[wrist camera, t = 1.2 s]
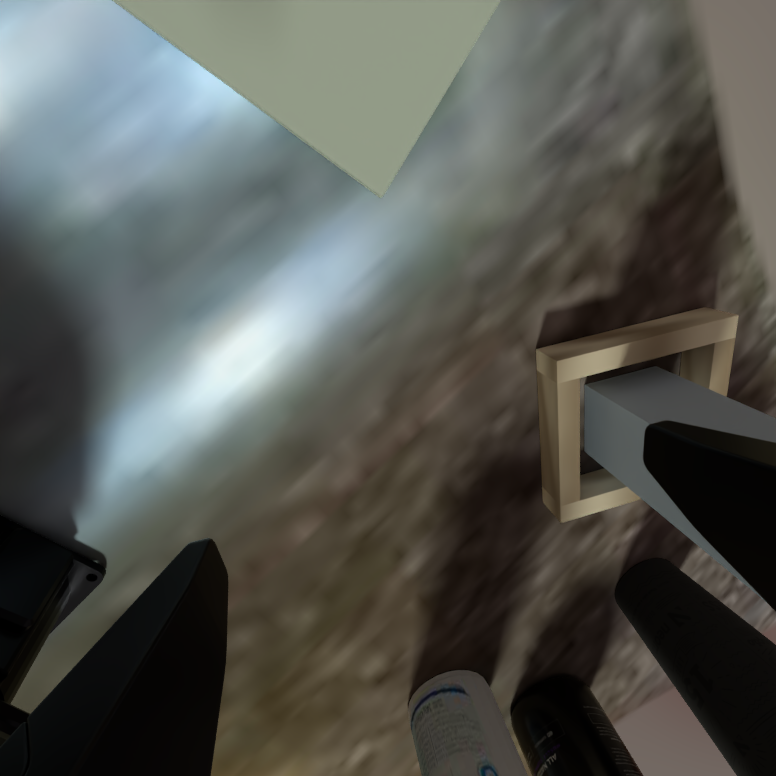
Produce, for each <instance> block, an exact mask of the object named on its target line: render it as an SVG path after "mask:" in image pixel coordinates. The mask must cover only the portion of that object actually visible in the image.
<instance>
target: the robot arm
mask: <svg viewBox="0 0 776 776" xmlns="http://www.w3.org/2000/svg"><path fill="white" fill-rule="evenodd" d="M643 462H644V465H645V467H646V469H647V470H648V471H649V473H650V474H651V475H652V476H653V478H654V479H655V480H656V481H657V483H658V484H659V485H660V486H661V487H662V489H663V490H664V491H665V492H666V494H667V495H668V496H669V497H670V499H671V500H672V501H673V502H674V504H675V505H676V506H677V507H678V509H679V510H680V511H681V512H682V513H683V515H684V516H685V517H686V518H687V520H688V521H689V522H690V523H691V524H692V525H693V527H694V528H695V529H696V530H697V531H698V532H699V533H700V534H701V535H702V536H703V537H704V538H705V539H706V540H707V541H708V542H709V544H710V545H711V546H712V547H713V548H714V549H715V550H716V551H717V552H718V553H719V554H720V555H721V556H722V557H723V558H724V559H725V560H726V561H727V562H728V563H729V564H730V565H731V566H732V567H733V568H734V569H735V570H736V571H737V572H738V573H739V574H740V575H741V576H742V577H743V578H744V579H745V580H746V581H747V582H748V584H749V585H750V586H751V587H752V588H753V589H754V590H755V591H756V592H757V593H758V594H759V595H760V596H761V597H762V598H763V599H764V600H765V601H766V602H767V603H768V604H769V605H770V606H771V607H772V608H773V609H774V610H775V611H776V443H775V442H771V441H766V440H761V439H756V438H752V437H747V436H742V435H737V434H732V433H728V432H723V431H718V430H713V429H708V428H704V427H699V426H694V425H689V424H684V423H680V422H675V421H670V420H664V421H660V422H656V423H652V424H649V425H648V426H647V427H646V429H645V434H644V447H643ZM91 574H95V575H96V576H94V575H91ZM105 574H106V570H105V568H104V567H103V566H101V565H100V564H98V563H96V562H94V561H92V560H90V559H88V558H86V557H84V556H82V555H80V554H78V553H76V552H74V551H72V550H70V549H68V548H65V547H63V546H61V545H59V544H57V543H55V542H53V541H51V540H49V539H47V538H45V537H43V536H41V535H39V534H37V533H35V532H33V531H31V530H29V529H27V528H25V527H23V526H21V525H19V524H17V523H15V522H13V521H11V520H9V519H7V518H5V517H3V516H1V515H0V776H211V769H212V761H213V754H214V747H215V740H216V732H217V725H218V718H219V711H220V703H221V696H222V689H223V682H224V674H225V665H226V651H227V615H228V574H227V570H226V567H225V565H224V562H223V560H222V558H221V555H220V553H219V551H218V548H217V546H216V544H215V542H214V541H213V540H212V539H210V538H206V539H202V540H198V541H195V542H191V543H189V544H188V545H187V546H186V547H185V548H184V549H183V550H182V551H181V552H180V553H179V554H178V555H177V556H176V557H175V558H174V560H173V561H172V562H171V563H170V564H169V565H168V566H167V567H166V568H165V569H164V570H163V571H162V572H161V574H160V575H159V576H158V577H157V578H156V579H155V580H154V581H153V582H152V583H151V584H150V585H149V587H148V588H147V589H146V590H145V591H144V592H143V593H142V594H141V595H140V596H139V597H138V598H137V600H136V601H135V602H134V603H133V604H132V605H131V606H130V607H129V608H128V609H127V610H126V611H125V613H124V614H123V615H122V616H121V617H120V618H119V619H118V620H117V621H116V622H115V623H114V624H113V626H112V627H111V628H110V629H109V630H108V631H107V632H106V633H105V634H104V635H103V636H102V637H101V638H100V640H99V641H98V642H97V643H96V644H95V645H94V646H93V647H92V648H91V649H90V650H89V651H88V653H87V654H86V655H85V656H84V657H83V658H82V659H81V660H80V661H79V662H78V663H77V664H76V666H75V667H74V668H73V669H72V670H71V671H70V672H69V673H68V674H67V675H66V676H65V677H64V678H63V680H62V681H61V682H60V683H59V684H58V685H57V686H56V687H55V688H54V689H53V690H52V691H51V693H50V694H49V695H48V696H47V697H46V698H45V699H44V700H43V701H42V702H41V703H40V704H39V705H38V707H37V708H36V709H35V710H34V711H33V712H32V713H31V714H29V713H27V712H25V711H23V710H21V709H19V708H17V707H15V706H13V705H11V702H12V700H13V698H14V697H15V695H16V693H17V691H18V689H19V688H20V686H21V684H22V682H23V680H24V679H25V677H26V675H27V673H28V671H29V670H30V668H31V666H32V664H33V662H34V661H35V659H36V657H37V655H38V654H39V652H40V650H41V648H42V646H43V645H44V643H45V641H46V639H47V637H48V636H49V634H50V633H51V632H52V631H53V630H54V629H55V628H56V627H57V626H58V625H59V624H60V623H61V622H62V621H63V620H64V619H65V618H66V617H67V616H68V615H69V614H70V613H71V612H72V611H73V610H74V609H75V608H76V607H77V606H78V605H79V604H80V603H81V602H82V601H83V600H84V599H85V598H86V597H87V596H88V595H89V594H90V593H91V592H92V591H93V590H94V589H95V588H96V587H97V586H98V585H99V584H100V583H101V582H102V580H103V578H104V576H105Z"/></svg>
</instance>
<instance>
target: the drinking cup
mask: <svg viewBox="0 0 776 776" xmlns="http://www.w3.org/2000/svg"><path fill="white" fill-rule="evenodd" d="M615 599H616V602H617V604H618V605H619V607H620V608H621V610H622V611H623V613H624V614H625V616H626V617H627V618H628V620H629V621H630V623H631V624H632V626H633V627H634V628H635V630H636V631H637V633H638V634H639V636H640V637H641V638H642V640H643V641H644V643H645V644H646V646H647V647H648V649H649V650H650V651H651V653H652V654H653V656H654V657H655V659H656V660H657V661H658V663H659V664H660V666H661V667H662V669H663V670H664V672H665V673H666V674H667V676H668V677H669V679H670V680H671V682H672V683H673V684H674V686H675V687H676V689H677V690H678V692H679V693H680V694H681V696H682V697H683V699H684V700H685V702H686V703H687V705H688V706H689V707H690V709H691V710H692V712H693V713H694V715H695V716H696V717H697V719H698V720H699V722H700V723H701V725H702V726H703V727H704V729H705V730H706V732H707V733H708V735H709V736H710V737H711V739H712V740H713V742H714V743H715V745H716V746H717V748H718V749H719V750H720V752H721V753H722V755H723V756H724V758H725V759H726V761H727V762H728V763H729V765H730V766H731V768H732V769H733V771H734V772H735V773H736V775H737V776H776V645H775V644H774V643H773V642H771V641H770V640H769V639H768V638H766V637H765V636H764V635H762V634H761V633H760V632H759V631H757V630H756V629H755V628H754V627H752V626H751V625H750V624H748V623H747V622H746V621H745V620H743V619H742V618H741V617H740V616H738V615H737V614H736V613H734V612H733V611H732V610H731V609H729V608H728V607H727V606H725V605H724V604H723V603H722V602H720V601H719V600H718V599H717V598H715V597H714V596H713V595H711V594H710V593H709V592H708V591H706V590H705V589H704V588H703V587H701V586H700V585H699V584H697V583H696V582H695V581H694V580H692V579H691V578H690V577H688V576H687V575H686V574H685V573H683V572H682V571H681V570H680V569H678V568H677V567H676V566H674V565H673V564H672V563H671V562H669V561H667V560H664V559H650V560H646V561H644V562H641V563H639V564H638V565H636V566H634V567H633V568H632V569H630V570H629V571H628V572H627V573H626V574H625V575H624V576H623V577H622V579H621V580H620V582H619V583H618V585H617V588H616V592H615Z"/></svg>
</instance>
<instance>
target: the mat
mask: <svg viewBox="0 0 776 776" xmlns="http://www.w3.org/2000/svg"><path fill="white" fill-rule="evenodd" d="M112 1H114V2H115V3H116V4H118V5H119V6H121V7H122V8H123V9H125V10H126V11H127V12H129V13H130V14H131V15H133V16H134V17H135V18H137V19H138V20H139V21H141V22H142V23H144V24H145V25H146V26H148V27H149V28H150V29H152V30H153V31H154V32H156V33H157V34H158V35H160V36H161V37H163V38H164V39H165V40H167V41H168V42H169V43H171V44H172V45H173V46H175V47H176V48H177V49H179V50H180V51H182V52H183V53H184V54H186V55H187V56H188V57H190V58H191V59H192V60H194V61H195V62H196V63H198V64H199V65H200V66H202V67H203V68H205V69H206V70H207V71H209V72H210V73H211V74H213V75H214V76H215V77H217V78H218V79H219V80H221V81H222V82H224V83H225V84H226V85H228V86H229V87H230V88H232V89H233V90H234V91H236V92H237V93H238V94H240V95H241V96H243V97H244V98H245V99H247V100H248V101H249V102H251V103H252V104H253V105H255V106H256V107H257V108H259V109H260V110H261V111H263V112H264V113H266V114H267V115H268V116H270V117H271V118H272V119H274V120H275V121H276V122H278V123H279V124H280V125H282V126H283V127H285V128H286V129H287V130H289V131H290V132H291V133H293V134H294V135H295V136H297V137H298V138H299V139H301V140H302V141H304V142H305V143H306V144H308V145H309V146H310V147H312V148H313V149H314V150H316V151H317V152H318V153H320V154H321V155H322V156H324V157H325V158H327V159H328V160H329V161H331V162H332V163H333V164H335V165H336V166H337V167H339V168H340V169H341V170H343V171H344V172H346V173H347V174H348V175H350V176H351V177H352V178H354V179H355V180H356V181H358V182H359V183H360V184H362V185H363V186H364V187H366V188H367V189H369V190H370V191H371V192H373V193H374V194H375V195H377V196H378V197H379V198H383V196H384V194H385V193H386V191H387V189H388V188H389V186H390V184H391V183H392V181H393V179H394V178H395V176H396V174H397V173H398V171H399V169H400V168H401V166H402V164H403V163H404V161H405V159H406V158H407V156H408V154H409V153H410V151H411V149H412V148H413V146H414V144H415V143H416V141H417V139H418V138H419V136H420V134H421V133H422V131H423V129H424V128H425V126H426V124H427V123H428V121H429V119H430V118H431V116H432V114H433V113H434V111H435V109H436V108H437V106H438V104H439V103H440V101H441V99H442V98H443V96H444V94H445V93H446V91H447V89H448V88H449V86H450V84H451V83H452V81H453V79H454V78H455V76H456V74H457V73H458V71H459V69H460V68H461V66H462V64H463V63H464V61H465V59H466V58H467V56H468V54H469V53H470V51H471V49H472V48H473V46H474V44H475V43H476V41H477V39H478V38H479V36H480V34H481V33H482V31H483V29H484V28H485V26H486V24H487V23H488V21H489V19H490V18H491V16H492V14H493V13H494V11H495V9H496V8H497V6H498V4H499V3H500V1H501V0H112Z"/></svg>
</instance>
